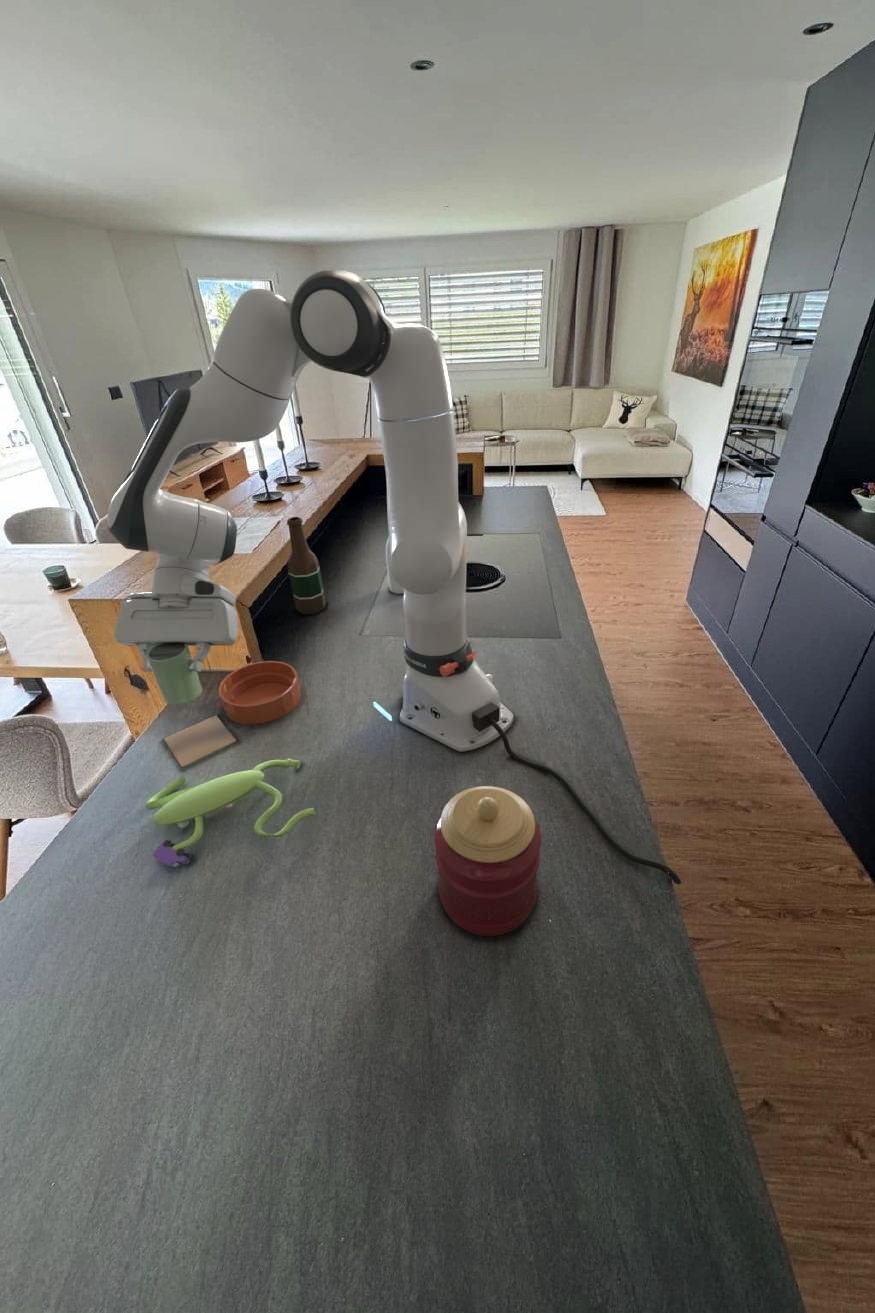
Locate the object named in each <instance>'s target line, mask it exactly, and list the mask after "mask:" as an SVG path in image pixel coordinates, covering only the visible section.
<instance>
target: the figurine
mask: <svg viewBox="0 0 875 1313" xmlns="http://www.w3.org/2000/svg"><path fill="white" fill-rule="evenodd" d="M300 766H301V760H300V759H299V760H295V759H292V758H288V757H287V758H286V760H285V759H272V760H271V759H270V760H267V761H264V762H262V763H259V764H258V765H256V766H255V767H253V768H252V769H249V770H243V771H237V772H232V773H230V774H227V775H223V776H220V777H219V776H218V777H216V778H214V779H212V780H208V781H206V782H204V783H201V784H199V785H197V786H193V787H190V788H186V789H182V790H179V791H176V790H177V789H178V788H180V787H181V786H182V785H184V784H185V783H186V782H187V779H186V778H185V776H184V775H181V776H180V777H179V778H178V779H176V780H175V781H173V782H171V783H170V784H169V785H167V786H166V787H165V788H163V789H161V790H160V791H158V792H157V793H156V794H154V795H153V796H152V797H151V798H149V799H148V800H147V801H146V806H145V807H146V808H147V809H148V810H152V809H153V810H154V809H156V808H159V809H158V810H157V811H156V812H155V813H154V815H153V817H152V822H153V823H154V825H157V826H169V825H176V824H177V826H178V828H181V829H182V830H183V829H184V830H185V828H186V827H188V825H189V823H190V821H192V820H194V832H193V834H192V835H191V836H190V837H189V838H188V839H186V840H184V841H181V842H179V843H177V844H174V843H173V842H172V840H171V839H165V840H164V841H162V842H161V843H160V845H159V846H158V847H157V848H156V849H155V851H154V852H153V853H152V855H151V856H152V857H153V858H154V859H157V860H158V861H159V862H161V863H162V864H164V865H166V866H168V867H170V868H173V869H175V868H176V867H178V866H180V865H182V864H183V865H188V864H189V863H190V861H191V859H190V857H191V855H190V853H187V852H186V851H185V849H187V848H188V847H191V846H193V845H194V844H196V843H197V842H198V841H199V840H200V839H201V837H202V835H203V833H204V816H206V815H209V814H211V813H214V812H216V811H218V810H220V809H223V808H231V807H233V804H232V803H234V802H236V801H238V800H241V799H242V798H243V797H245V796H246V795H247V794H249V793H250V792H252V791H253V790H255V789H259V790H260V791H263V792H264V793H266V794H269V795H270V796H272V797H273V799H274V802H273V804H272V806H271V807H269V808H268V809H267V810H265V811H264V812H263V813H262V814H261V815H260V816H259V817H258V818H257V820H256V821H255V823H254V826H253V830H254V832H255V834H256V835H257V836H260V837H264V838H281V837H284V836H286V835H288V834H289V833H290V832H291V831H293V829H294V828H295V826H297V824H298V823H300V822H301V821H302V820H304V819H306V818H307V819H308V818H309V817H314V816H315V815H316V812H315V808H314V807H309V808H305V809H303V810H301V811H299V812H297V813H295V814H294V815H293V816H292V817H291V818H289V820H288V821H287V823H286V824H285V825H284V826H283V827H282V828H281V829H280V830H279V831H278V832H276V833H274V834H271V833H268V832H265V831H264V830H263V828H264V825H265V823H266V822H267V821H268V820H269V819H270V818H271V817H272V816H273V815H274V814H275V813H277V812H278V811H279V809H280V808H281V807H282V805H283V794H282V793H281V792H280V791H279V790H278V789H277V788H275V787H273V786H272V785H271V784H269V783H267V782H264V780H263V779H264V777H265V774H264V772H262V771H265V770H267V769H270V768H276V767H277V768H278V767H280V768H288V767H290V768H296V769H298V770H299V768H300ZM174 791H176V792H174ZM160 807H161V808H160Z"/></svg>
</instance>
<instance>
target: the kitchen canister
mask: <svg viewBox="0 0 875 1313" xmlns="http://www.w3.org/2000/svg"><path fill="white" fill-rule="evenodd" d="M434 844H435V848H436V849H435V860H436V864H437V869H438V878H437V886H438V889H437V890H438V895H439V899H440V901H441V904H442V907H443V909H444V910H445V912H446V914H447V916H448V917H449V919H450V920H451V921H453V923H455V925H457V926H458V927H460V929H463V930H464V931H466V932H468V933H471V934H473V935H478V936H482V937H496V936H503V935H505V934H508V933H511V932H512V931H514V930H516V929H517V928H519V927H520V926H522V925H523V924H524V923H525V921H526V920H527V919H528V917H529V916H530V914H531V912H532V910H533V909H534V906H535V903H536V901H537V895H538V880H537V879H538V878H537V877H538V870H539V866H540V861H541V860H540V859H541V857H540V856H541V855H540V850H541V847H542V833H541V829H540V826H539V824H538V822H537V820H536V818H535V816H534V813H533V810H532V809H531V807H530V806H529V804H528V803H527V802H526V801H525V800H524V799H523V798H521V797H520V796H519V795H518V794H516V793H514V792H513V791H510V790H508V789H506V788H502V787H498V786H493V785H492V786H490V785H480V786H475V787H470V788H467V789H465V790H462V791H460V792H458V793H457V794H456V795H454V796H453V797H452V798H451V799H449V800H448V801H447V803H446V804H445V806H444V808H443V810H442V812H441V814H440V816H439V818H438V820H437V822H436V825H435V828H434Z"/></svg>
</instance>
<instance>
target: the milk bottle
mask: <svg viewBox="0 0 875 1313" xmlns="http://www.w3.org/2000/svg"><path fill="white" fill-rule="evenodd" d="M385 544H386V545H385V560H386V569H387V582H388V588H389V590H390V592H392V593H394V594H397V595H399V594H400V595H403V594H404V588H402V587H401V586H400V585H399V584H398V583H397V582H396V580H395V579H394V577H393V575H392V572H391V568H390V542H389V536H388V538H387V539H386V542H385Z"/></svg>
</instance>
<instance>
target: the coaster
mask: <svg viewBox="0 0 875 1313" xmlns="http://www.w3.org/2000/svg"><path fill="white" fill-rule="evenodd" d="M163 740H164V742H165V744H166V745H167V747H168V748H169V750H170V751H171V753H172V754H173V756H174V757H175V759H176V761H177V762H178V764H179V765H180V767H181V768H183V767H186V766H187V765H190V764H192V763H194V762H196V761H198V760H200V759H202V758H204V757H206V756H208V755H210V754H213V753H214V752H216V751H219V750H221V749H223V748H225V747H226V746H229V745H231V744H233V743H235V742H237V739H236V738H235V737H234V736H233V734H232V733H231V732H230V731H229V729H228V728H227V727H226V725H225V724H224V723H223V721H221V720H220V718H219V717H218V716H217V715H216V714H215V715H213V716H211V717H208V718H206V719H204V720H201V721H199V722H198V723H196V724H193V725H191V726H189V727H187V728H184V729H182V730H179V731H177V732H175V733H173V734H170V735H168V736H167V737H163Z"/></svg>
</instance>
